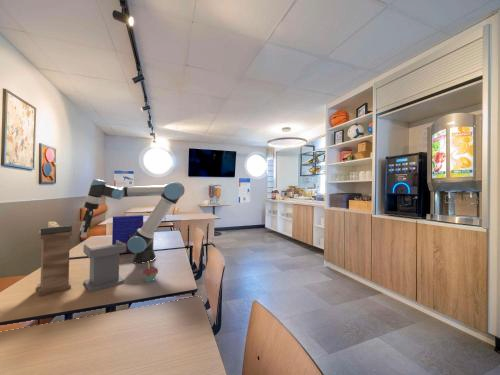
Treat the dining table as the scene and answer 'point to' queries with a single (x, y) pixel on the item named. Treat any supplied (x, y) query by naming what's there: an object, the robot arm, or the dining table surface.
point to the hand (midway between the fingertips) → (82, 233)
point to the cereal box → (125, 228)
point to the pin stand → (54, 263)
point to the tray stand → (104, 266)
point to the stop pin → (55, 228)
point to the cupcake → (150, 273)
